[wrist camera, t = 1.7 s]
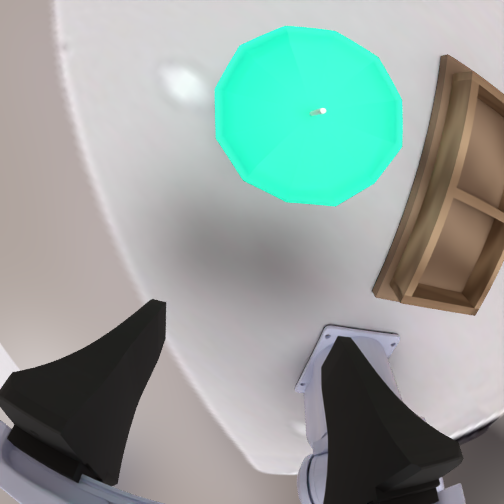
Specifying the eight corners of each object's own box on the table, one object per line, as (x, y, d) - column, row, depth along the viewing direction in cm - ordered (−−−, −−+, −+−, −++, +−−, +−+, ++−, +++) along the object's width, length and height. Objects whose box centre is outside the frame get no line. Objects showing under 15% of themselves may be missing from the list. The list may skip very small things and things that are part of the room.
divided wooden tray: (455, 306, 22) (471, 328, 19) (372, 290, 22) (384, 316, 19) (521, 115, 13) (546, 119, 10) (441, 56, 13) (466, 49, 10)
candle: (225, 120, 17) (152, 117, 6) (289, 59, 15) (314, -29, 4) (290, 181, 19) (315, 267, 8) (354, 123, 17) (462, 133, 6)
